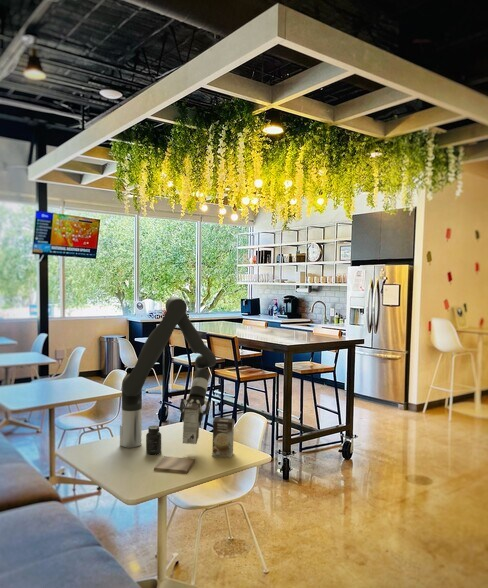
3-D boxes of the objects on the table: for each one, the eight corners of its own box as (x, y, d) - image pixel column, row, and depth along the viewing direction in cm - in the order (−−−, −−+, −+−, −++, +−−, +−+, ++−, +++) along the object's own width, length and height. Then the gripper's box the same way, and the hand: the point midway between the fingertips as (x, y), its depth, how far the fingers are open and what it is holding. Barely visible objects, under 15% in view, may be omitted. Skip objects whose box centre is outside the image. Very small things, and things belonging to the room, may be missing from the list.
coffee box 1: (185, 436, 221) (186, 402, 220) (199, 437, 221) (200, 402, 220) (182, 443, 212) (183, 407, 211) (196, 444, 212) (198, 408, 211)
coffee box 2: (211, 456, 214) (212, 421, 214) (213, 451, 221) (214, 417, 220) (231, 457, 213) (232, 422, 213) (233, 452, 220) (234, 418, 219)
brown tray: (153, 470, 198) (154, 467, 198) (164, 458, 211) (164, 456, 211) (186, 473, 195) (186, 470, 195) (195, 461, 208) (195, 458, 208)
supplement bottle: (146, 450, 220) (147, 424, 220) (161, 450, 221) (162, 424, 220) (145, 456, 213) (145, 429, 213) (160, 455, 214) (160, 429, 214)
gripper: (182, 384, 225) (174, 415, 214) (212, 386, 223) (205, 418, 212) (185, 392, 231) (177, 423, 220) (214, 394, 228) (207, 426, 217)
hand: (191, 421), depth 216 cm, fingers closed on coffee box 1, 7 cm apart
